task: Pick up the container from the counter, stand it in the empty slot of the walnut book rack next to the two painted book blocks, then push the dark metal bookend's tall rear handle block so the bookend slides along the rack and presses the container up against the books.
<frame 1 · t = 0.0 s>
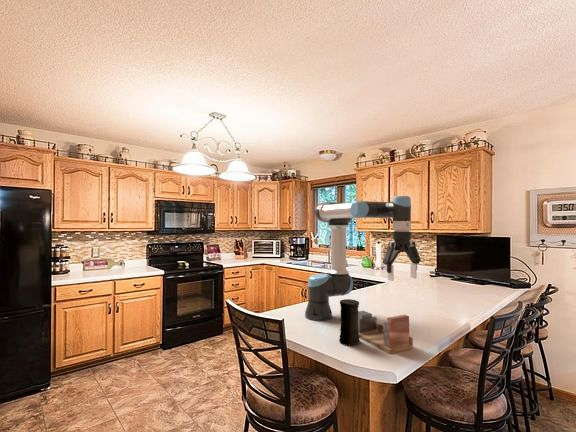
hand: (402, 279, 136), 28 cm above the countertop, fingers open, 13 cm apart
bookend: (363, 321, 149), point 5 cm above the countertop, slide at 0.0 cm
container: (349, 342, 137), on the countertop
rack: (381, 341, 138), on the countertop
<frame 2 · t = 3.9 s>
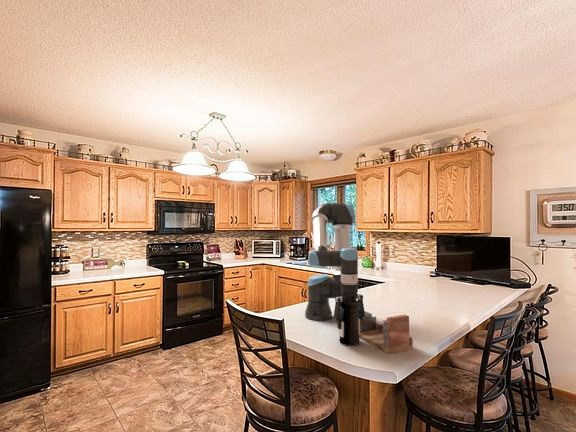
hand: (349, 334, 137), 3 cm above the countertop, fingers closed on container, 8 cm apart
container: (349, 342, 137), on the countertop, touching gripper
everything else where it was.
when the fingers open (6 cm above the countertop, at t = 11.5 s): container drops 1 cm, resting on rack.
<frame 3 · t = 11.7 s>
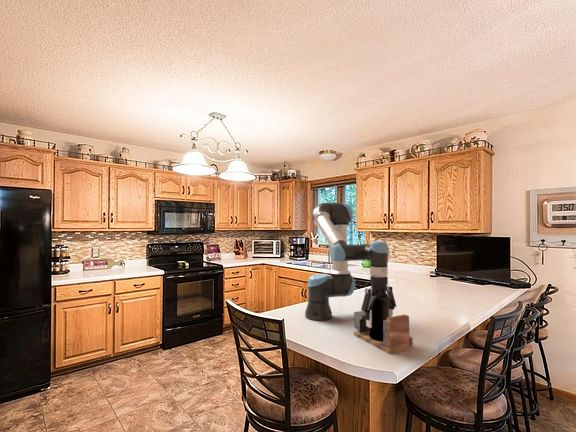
hand: (379, 325, 138), 7 cm above the countertop, fingers open, 11 cm apart
container: (379, 337, 138), point 1 cm above the countertop, touching rack
everything else where it was.
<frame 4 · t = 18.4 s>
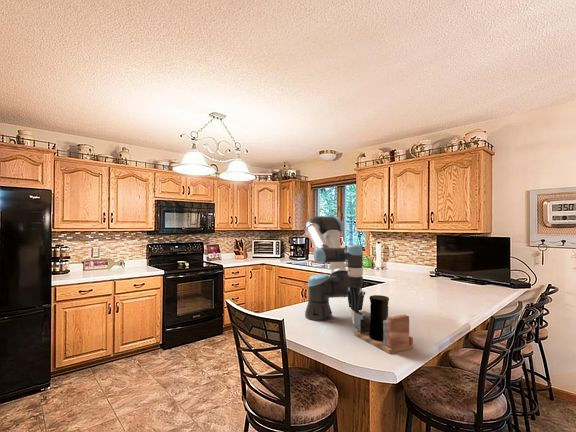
hand: (355, 323, 154), 3 cm above the countertop, fingers closed
bookend: (364, 321, 148), point 5 cm above the countertop, slide at 0.6 cm, touching gripper
everything else where it was.
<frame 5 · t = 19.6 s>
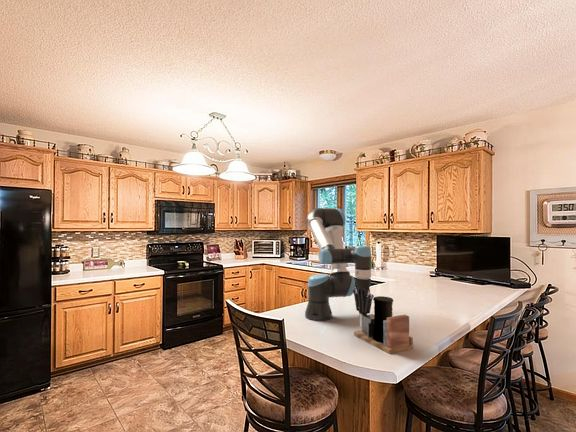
hand: (363, 326, 149), 3 cm above the countertop, fingers closed
bookend: (372, 324, 143), point 5 cm above the countertop, slide at 6.2 cm, touching container, gripper
container: (383, 339, 136), point 1 cm above the countertop, touching bookend, rack
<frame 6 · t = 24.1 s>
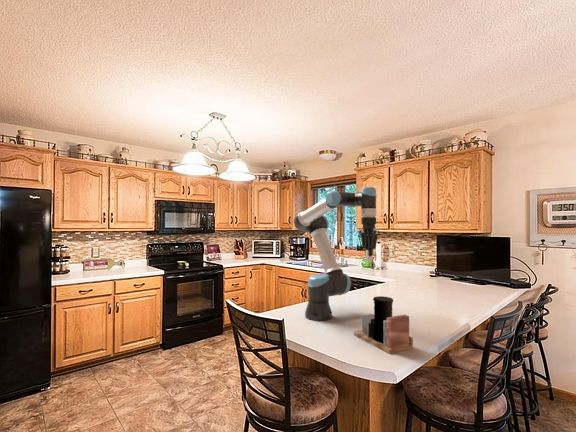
hand: (369, 262, 160), 32 cm above the countertop, fingers closed
bookend: (372, 324, 143), point 5 cm above the countertop, slide at 6.2 cm
container: (383, 339, 136), point 1 cm above the countertop, touching rack
at the end: container inside the target area (2.5 cm from its centre), point 1.3 cm above the countertop; container tilted 0°; bookend slide at 6.2 cm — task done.
